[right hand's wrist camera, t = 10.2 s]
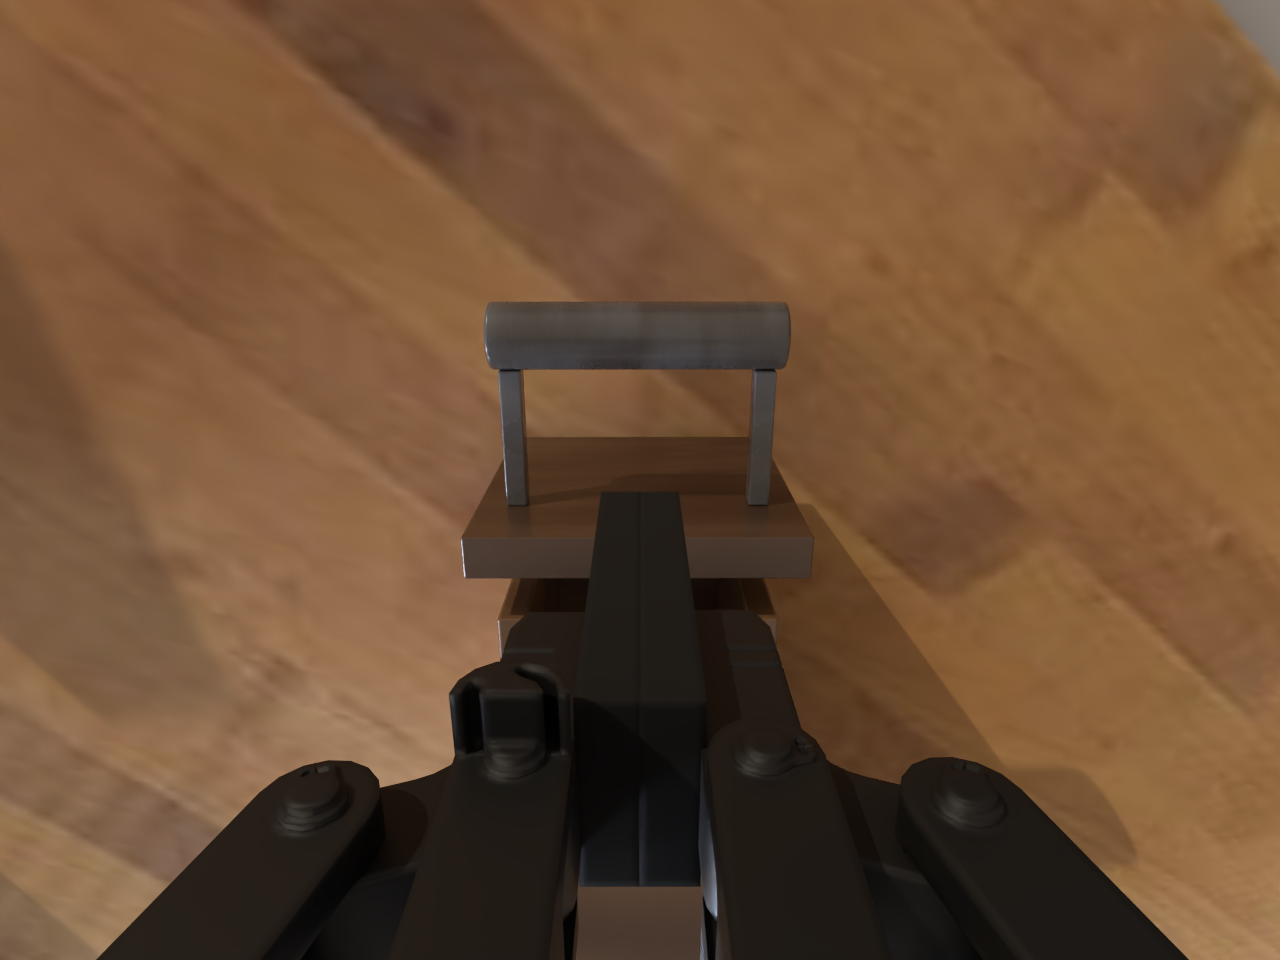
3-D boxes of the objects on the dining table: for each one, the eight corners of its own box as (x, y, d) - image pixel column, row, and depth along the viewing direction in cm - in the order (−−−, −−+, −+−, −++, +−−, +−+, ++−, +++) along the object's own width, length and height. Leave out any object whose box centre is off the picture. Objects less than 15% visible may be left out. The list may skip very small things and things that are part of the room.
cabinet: (515, 624, 32) (456, 822, 22) (761, 624, 32) (819, 822, 22) (536, 952, 38) (498, 1224, 28) (741, 952, 38) (778, 1224, 28)
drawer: (505, 279, 26) (440, 314, 18) (770, 278, 26) (833, 314, 18) (537, 816, 34) (503, 1018, 26) (740, 816, 34) (773, 1018, 26)
